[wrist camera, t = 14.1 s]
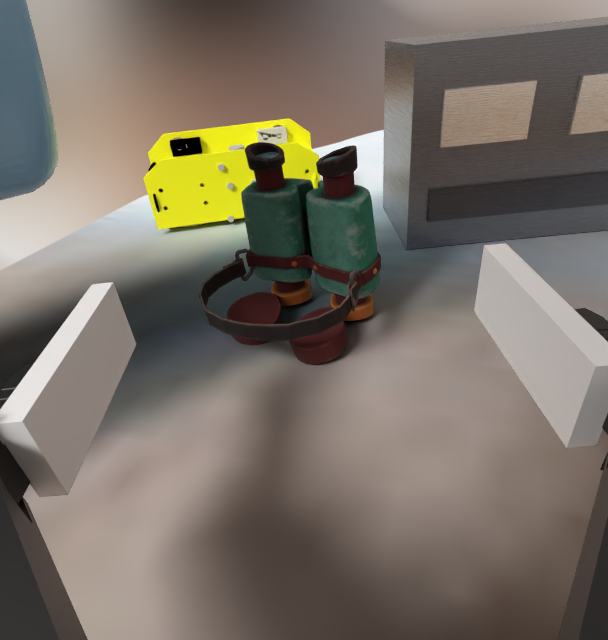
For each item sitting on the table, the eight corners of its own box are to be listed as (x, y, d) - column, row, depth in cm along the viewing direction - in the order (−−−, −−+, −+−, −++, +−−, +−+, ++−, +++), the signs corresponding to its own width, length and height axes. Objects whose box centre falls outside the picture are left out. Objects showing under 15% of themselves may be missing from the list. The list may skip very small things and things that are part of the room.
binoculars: (132, 201, 20) (255, 130, 27) (199, 364, 27) (285, 276, 33) (297, 224, 16) (397, 133, 22) (328, 411, 23) (399, 300, 29)
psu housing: (407, 251, 35) (416, 45, 28) (383, 207, 44) (384, 40, 36) (648, 227, 35) (726, 12, 27) (576, 187, 44) (620, 15, 36)
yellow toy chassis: (314, 197, 49) (307, 115, 44) (323, 215, 44) (317, 125, 39) (167, 217, 47) (144, 135, 43) (160, 238, 43) (133, 148, 38)
